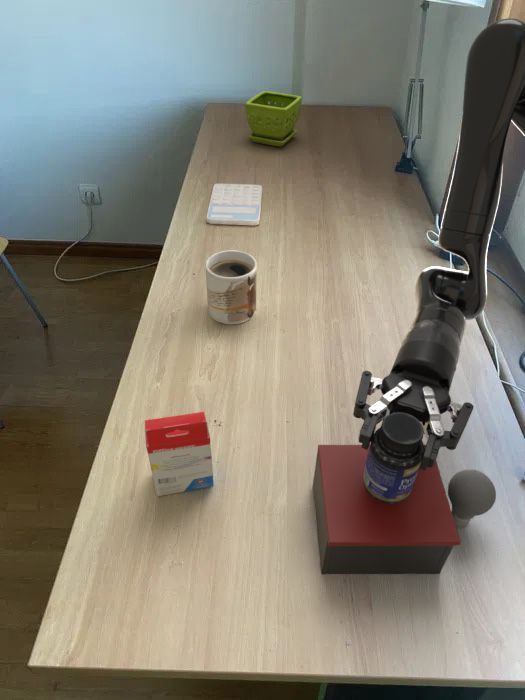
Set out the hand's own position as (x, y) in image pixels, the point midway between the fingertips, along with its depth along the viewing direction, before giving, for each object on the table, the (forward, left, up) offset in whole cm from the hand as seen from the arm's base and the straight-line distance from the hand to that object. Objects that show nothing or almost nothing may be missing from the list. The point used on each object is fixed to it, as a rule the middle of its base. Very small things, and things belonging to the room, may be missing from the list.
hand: (394, 454), depth 63 cm
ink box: (+26, -11, -20) cm, 35 cm away
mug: (+19, -53, -20) cm, 60 cm away
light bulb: (-13, -4, -20) cm, 25 cm away
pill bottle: (-1, -2, -9) cm, 10 cm away
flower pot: (+9, -141, -20) cm, 143 cm away
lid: (-1, -3, -11) cm, 12 cm away
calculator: (+20, -96, -20) cm, 100 cm away
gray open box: (-1, -3, -20) cm, 21 cm away
